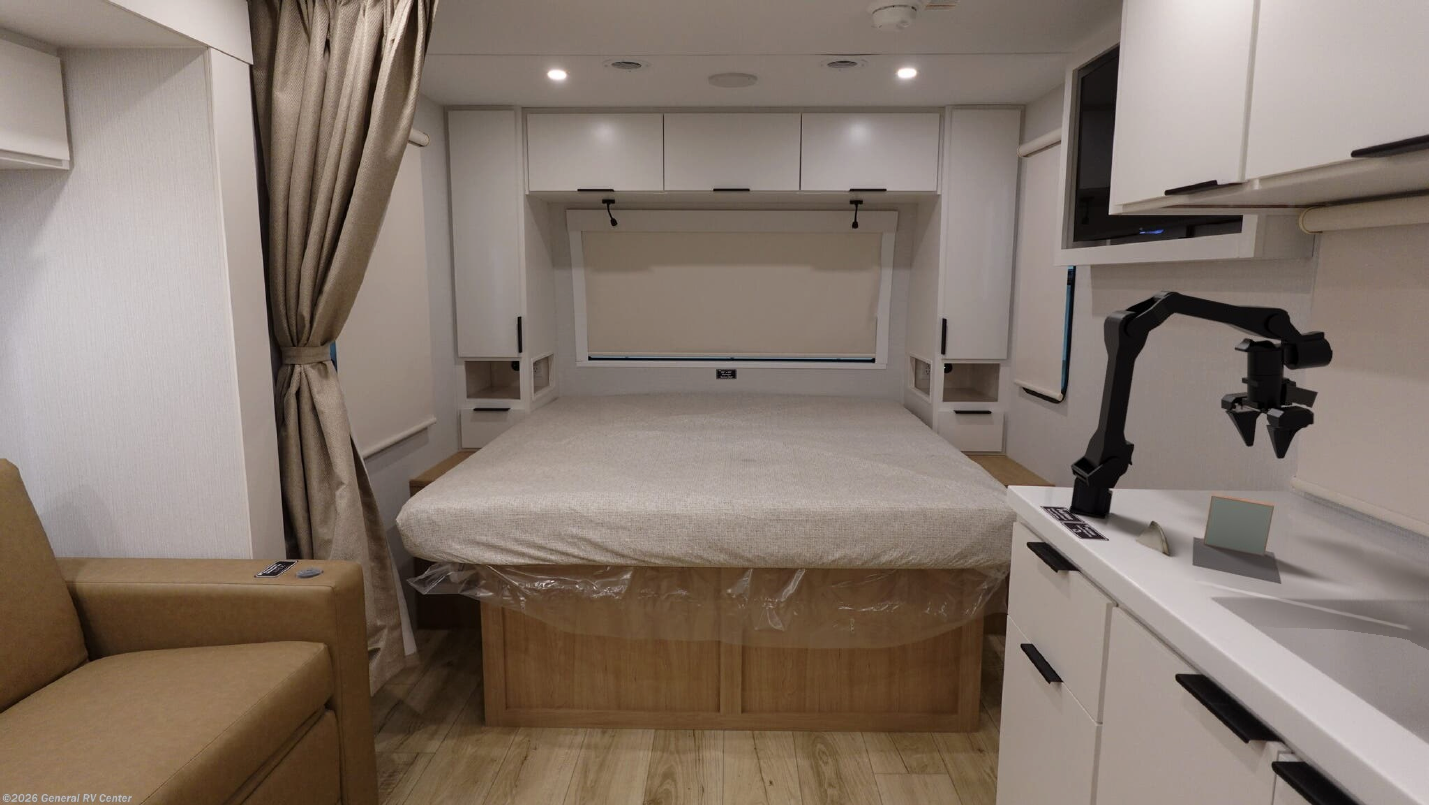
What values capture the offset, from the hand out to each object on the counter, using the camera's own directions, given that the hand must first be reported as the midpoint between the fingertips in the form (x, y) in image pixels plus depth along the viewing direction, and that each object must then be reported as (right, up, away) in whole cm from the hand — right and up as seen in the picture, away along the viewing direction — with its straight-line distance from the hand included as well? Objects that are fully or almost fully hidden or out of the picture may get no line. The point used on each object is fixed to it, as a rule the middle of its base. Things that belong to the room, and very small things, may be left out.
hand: (1264, 452), depth 152 cm
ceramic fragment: (-28, -16, -12) cm, 35 cm away
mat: (-18, -17, -19) cm, 31 cm away
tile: (-15, -16, -14) cm, 26 cm away
